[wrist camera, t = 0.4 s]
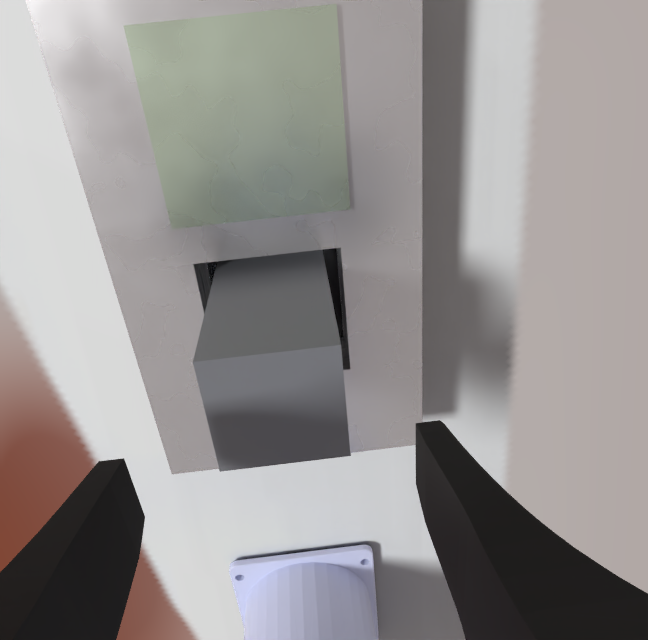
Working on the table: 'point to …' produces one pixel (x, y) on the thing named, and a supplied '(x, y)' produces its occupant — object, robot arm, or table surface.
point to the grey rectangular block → (272, 363)
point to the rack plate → (251, 178)
